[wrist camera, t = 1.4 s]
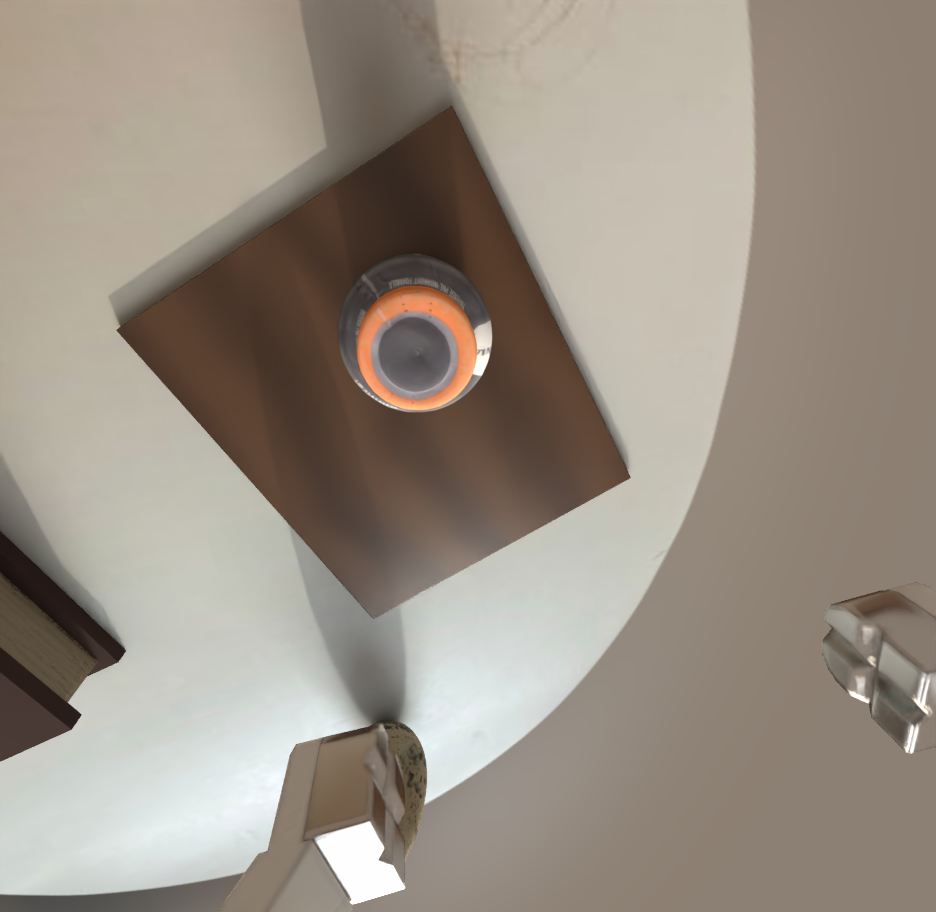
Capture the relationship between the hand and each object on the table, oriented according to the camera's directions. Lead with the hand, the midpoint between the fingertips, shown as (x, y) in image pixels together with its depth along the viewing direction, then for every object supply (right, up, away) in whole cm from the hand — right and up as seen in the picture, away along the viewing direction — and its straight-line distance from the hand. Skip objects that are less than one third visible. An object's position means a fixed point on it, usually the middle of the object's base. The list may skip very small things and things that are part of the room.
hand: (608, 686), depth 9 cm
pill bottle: (-5, +12, +18) cm, 22 cm away
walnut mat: (-6, +7, +20) cm, 22 cm away
